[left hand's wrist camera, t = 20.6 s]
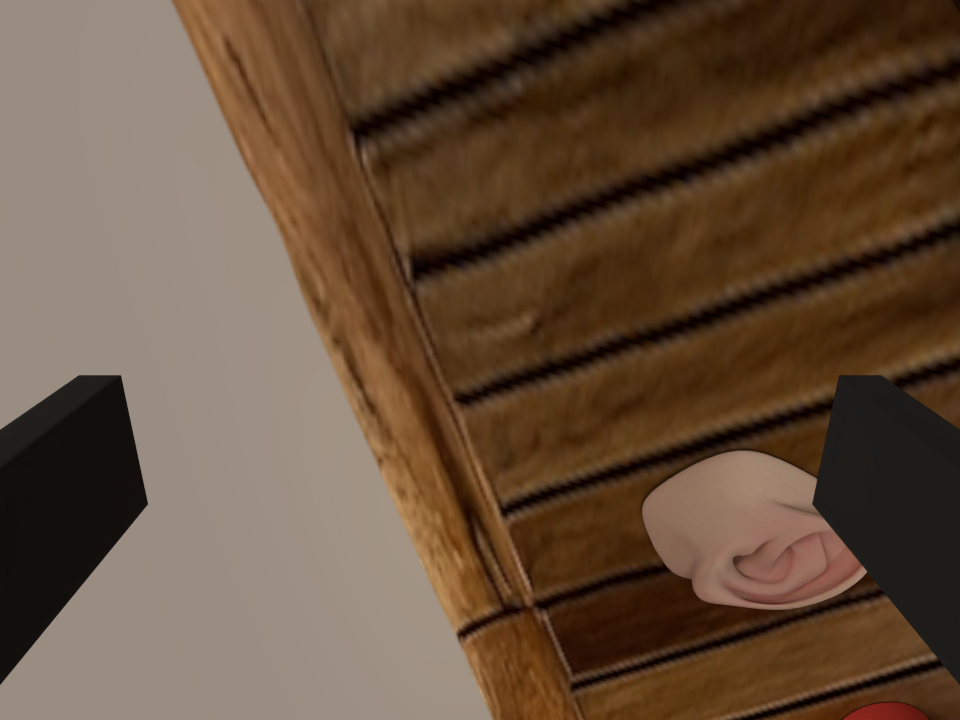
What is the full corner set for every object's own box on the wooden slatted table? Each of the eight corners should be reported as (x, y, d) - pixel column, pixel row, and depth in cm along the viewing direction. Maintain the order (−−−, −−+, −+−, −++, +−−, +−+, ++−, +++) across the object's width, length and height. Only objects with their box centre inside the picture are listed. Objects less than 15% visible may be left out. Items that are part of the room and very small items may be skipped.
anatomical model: (624, 565, 42) (760, 439, 39) (613, 527, 46) (736, 409, 43) (767, 666, 45) (904, 557, 42) (745, 623, 49) (870, 519, 46)
